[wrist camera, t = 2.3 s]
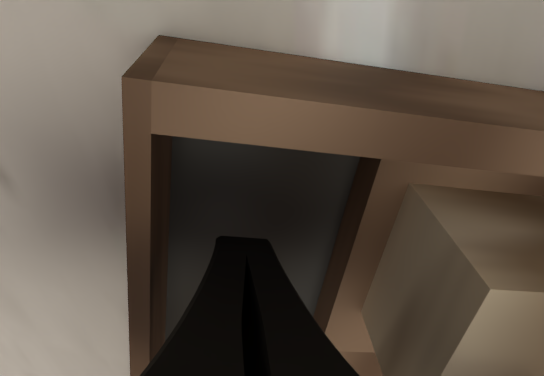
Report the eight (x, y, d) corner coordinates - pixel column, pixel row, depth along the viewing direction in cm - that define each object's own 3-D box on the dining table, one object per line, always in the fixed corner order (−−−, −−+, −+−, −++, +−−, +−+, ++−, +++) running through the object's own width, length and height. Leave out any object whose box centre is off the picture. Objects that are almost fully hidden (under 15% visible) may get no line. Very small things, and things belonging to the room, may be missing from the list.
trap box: (909, 145, 14) (1123, 206, 11) (626, 418, 23) (697, 502, 19) (159, 35, 10) (121, 76, 7) (152, 415, 19) (134, 519, 15)
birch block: (569, 199, 12) (710, 302, 8) (495, 318, 14) (580, 436, 11) (409, 182, 11) (490, 289, 7) (360, 312, 13) (404, 437, 10)
